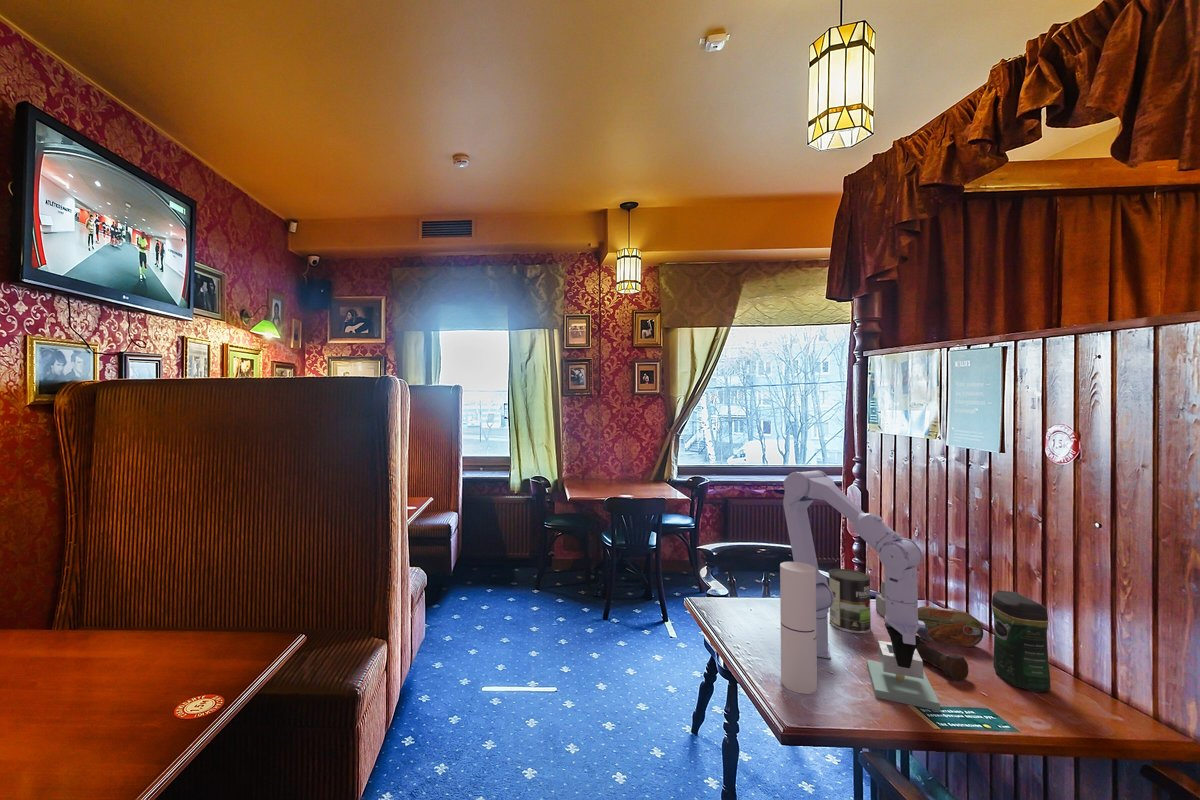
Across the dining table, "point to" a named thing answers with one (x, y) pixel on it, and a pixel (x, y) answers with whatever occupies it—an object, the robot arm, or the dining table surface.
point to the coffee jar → (1021, 641)
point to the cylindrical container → (798, 627)
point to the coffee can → (850, 600)
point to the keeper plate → (902, 687)
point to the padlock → (881, 601)
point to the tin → (949, 626)
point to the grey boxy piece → (891, 664)
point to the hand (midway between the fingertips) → (902, 664)
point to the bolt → (944, 662)
